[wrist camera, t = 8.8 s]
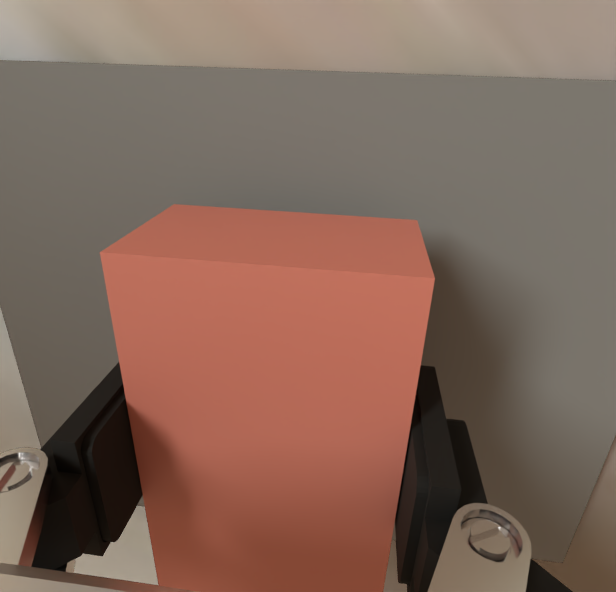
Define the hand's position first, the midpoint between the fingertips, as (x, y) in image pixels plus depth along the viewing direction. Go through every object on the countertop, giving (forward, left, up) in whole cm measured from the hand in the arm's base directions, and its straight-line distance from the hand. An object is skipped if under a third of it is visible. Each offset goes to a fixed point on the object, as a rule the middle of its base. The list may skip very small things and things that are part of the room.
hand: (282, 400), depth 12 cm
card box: (0, 0, -1) cm, 1 cm away
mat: (0, 0, -3) cm, 3 cm away
